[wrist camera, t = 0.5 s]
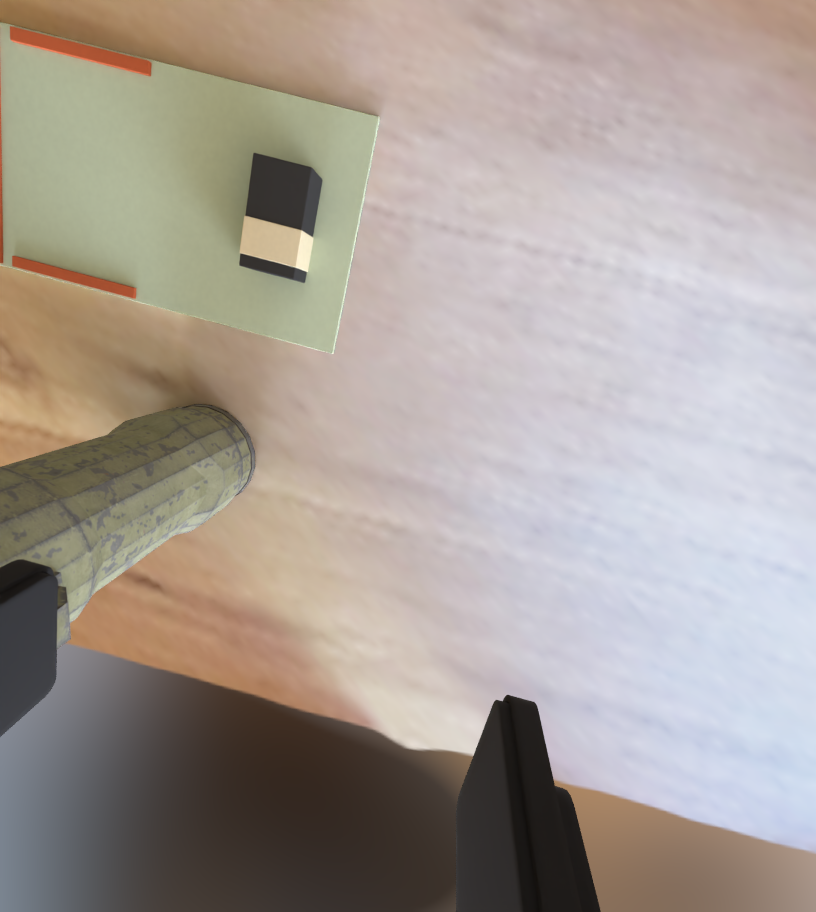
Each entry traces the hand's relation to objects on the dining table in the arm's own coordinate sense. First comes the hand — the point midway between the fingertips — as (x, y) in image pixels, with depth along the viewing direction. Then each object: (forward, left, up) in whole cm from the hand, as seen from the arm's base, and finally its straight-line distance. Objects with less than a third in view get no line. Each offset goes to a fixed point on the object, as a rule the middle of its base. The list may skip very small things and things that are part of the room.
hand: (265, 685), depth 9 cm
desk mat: (-12, -21, -28) cm, 37 cm away
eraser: (-12, -12, -27) cm, 32 cm away
